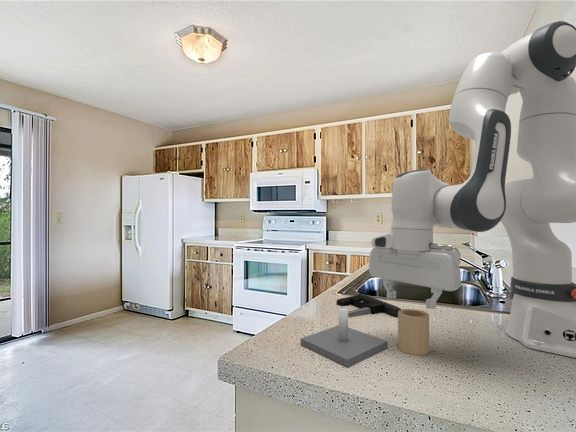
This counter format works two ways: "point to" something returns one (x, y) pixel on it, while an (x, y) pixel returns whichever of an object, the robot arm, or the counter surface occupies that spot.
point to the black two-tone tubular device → (367, 305)
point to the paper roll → (413, 331)
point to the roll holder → (344, 342)
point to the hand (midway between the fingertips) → (410, 303)
